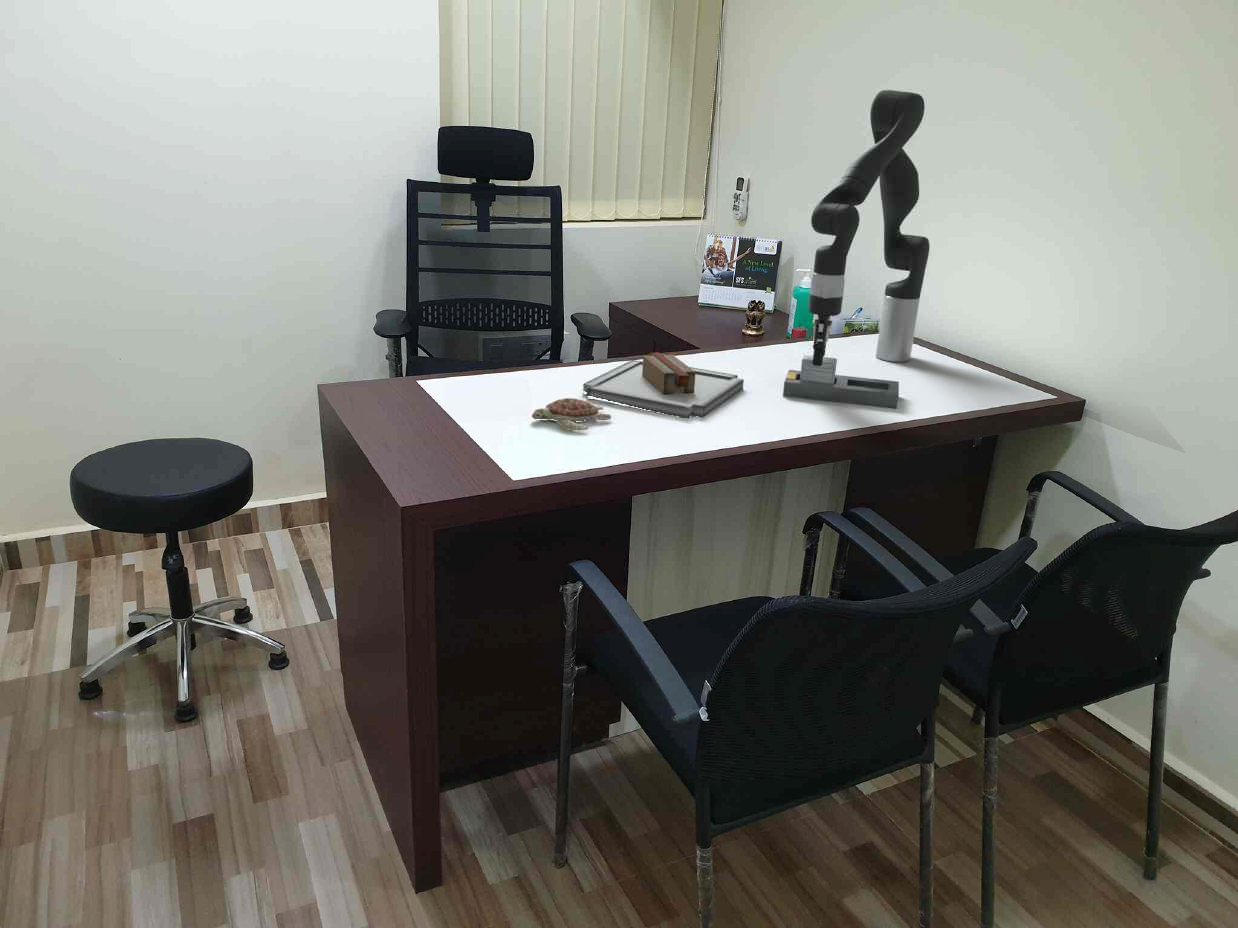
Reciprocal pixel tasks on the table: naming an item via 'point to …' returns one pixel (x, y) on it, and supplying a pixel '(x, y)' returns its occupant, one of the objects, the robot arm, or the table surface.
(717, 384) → the grey square tray
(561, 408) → the decorative turtle
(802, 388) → the slotted rail
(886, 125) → the robot arm
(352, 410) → the table surface
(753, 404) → the table surface
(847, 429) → the table surface
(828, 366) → the medicine box
